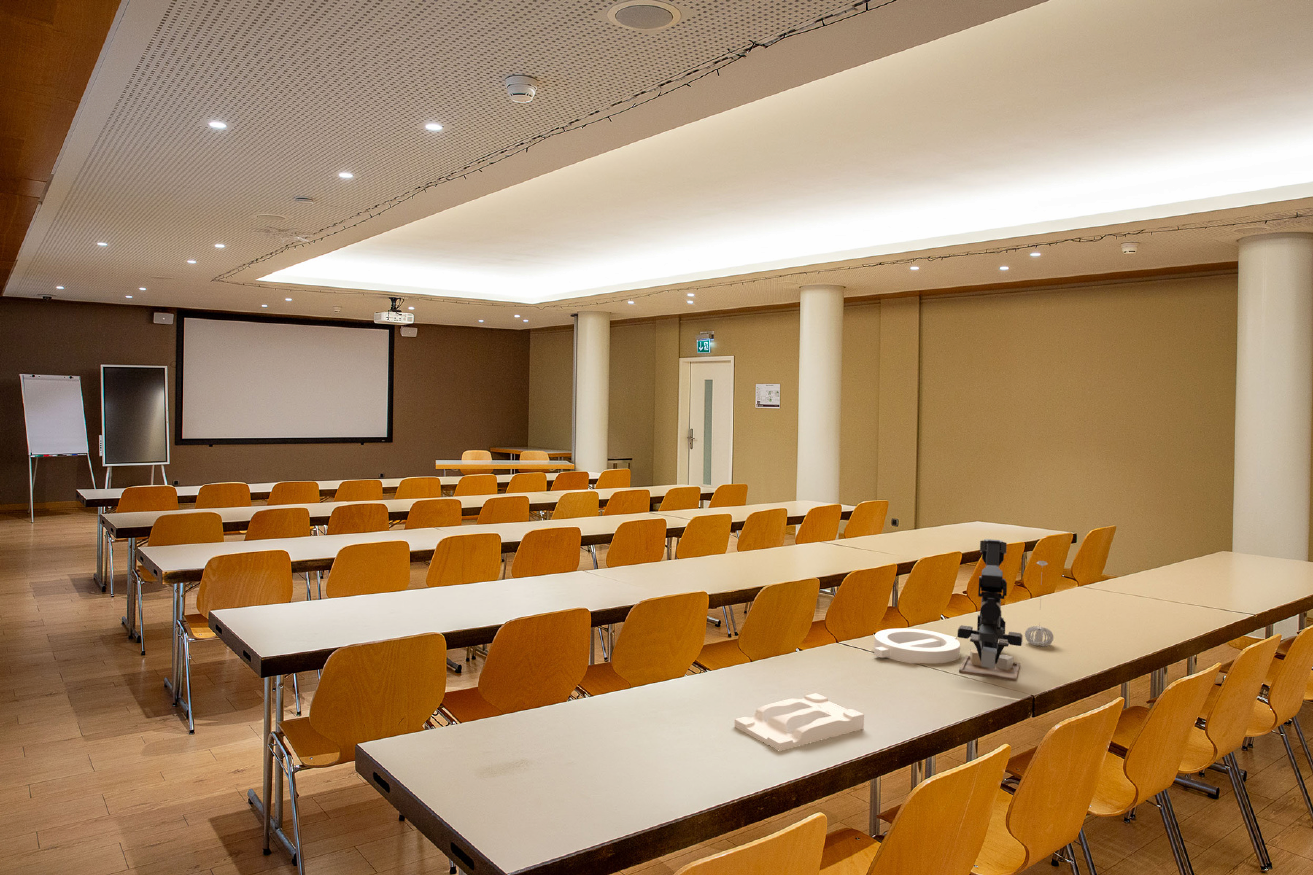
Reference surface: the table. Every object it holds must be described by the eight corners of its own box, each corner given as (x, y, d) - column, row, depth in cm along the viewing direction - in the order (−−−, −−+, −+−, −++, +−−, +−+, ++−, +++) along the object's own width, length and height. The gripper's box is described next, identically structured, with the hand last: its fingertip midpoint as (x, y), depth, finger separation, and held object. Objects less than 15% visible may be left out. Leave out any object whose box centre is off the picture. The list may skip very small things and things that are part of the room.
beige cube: (1002, 664, 274) (1002, 654, 274) (1012, 667, 271) (1013, 656, 271) (995, 667, 271) (996, 656, 271) (1006, 670, 268) (1007, 659, 268)
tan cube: (969, 661, 277) (970, 649, 277) (984, 662, 276) (984, 650, 276) (971, 664, 273) (972, 652, 273) (986, 665, 272) (986, 653, 272)
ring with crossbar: (956, 645, 298) (956, 632, 297) (962, 669, 271) (963, 655, 270) (874, 638, 305) (875, 625, 305) (873, 660, 278) (873, 646, 278)
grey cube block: (982, 662, 268) (983, 646, 267) (996, 664, 266) (996, 648, 266) (981, 666, 263) (981, 650, 263) (994, 668, 261) (995, 652, 261)
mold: (864, 730, 218) (864, 713, 218) (779, 753, 202) (780, 734, 202) (815, 709, 233) (816, 692, 233) (733, 728, 218) (734, 710, 217)
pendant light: (1056, 649, 295) (1059, 564, 294) (1028, 647, 297) (1031, 563, 296) (1049, 641, 304) (1052, 559, 303) (1022, 639, 306) (1025, 558, 305)
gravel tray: (966, 658, 281) (966, 655, 281) (1019, 666, 273) (1019, 663, 273) (958, 673, 265) (959, 670, 265) (1015, 682, 257) (1015, 678, 257)
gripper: (955, 614, 261) (954, 664, 262) (1021, 623, 252) (1019, 674, 253) (960, 607, 271) (958, 655, 272) (1023, 615, 262) (1021, 664, 263)
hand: (988, 662), depth 265 cm, fingers closed on grey cube block, 4 cm apart
